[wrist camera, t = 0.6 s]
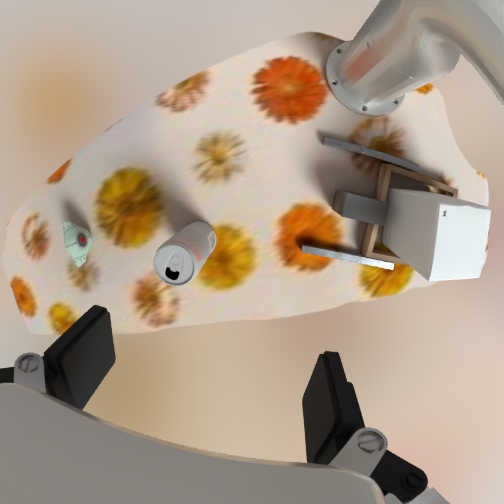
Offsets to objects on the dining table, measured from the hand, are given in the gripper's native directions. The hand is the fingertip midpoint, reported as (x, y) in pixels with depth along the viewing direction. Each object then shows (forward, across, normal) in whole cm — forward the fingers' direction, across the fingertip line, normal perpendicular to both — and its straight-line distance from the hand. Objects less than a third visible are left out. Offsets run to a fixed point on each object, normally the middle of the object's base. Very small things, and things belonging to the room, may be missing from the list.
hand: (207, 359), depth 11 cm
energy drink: (+31, +8, +4) cm, 32 cm away
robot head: (+31, +28, +7) cm, 42 cm away
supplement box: (+31, -24, -5) cm, 39 cm away
